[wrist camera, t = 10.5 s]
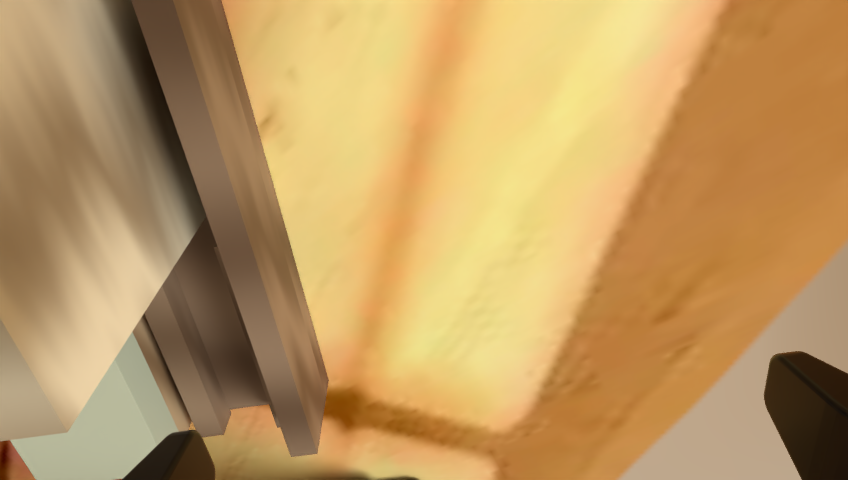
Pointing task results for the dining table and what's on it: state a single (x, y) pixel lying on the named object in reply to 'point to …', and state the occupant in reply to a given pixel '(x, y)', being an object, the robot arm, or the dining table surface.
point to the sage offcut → (106, 426)
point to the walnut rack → (229, 244)
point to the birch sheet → (80, 202)
